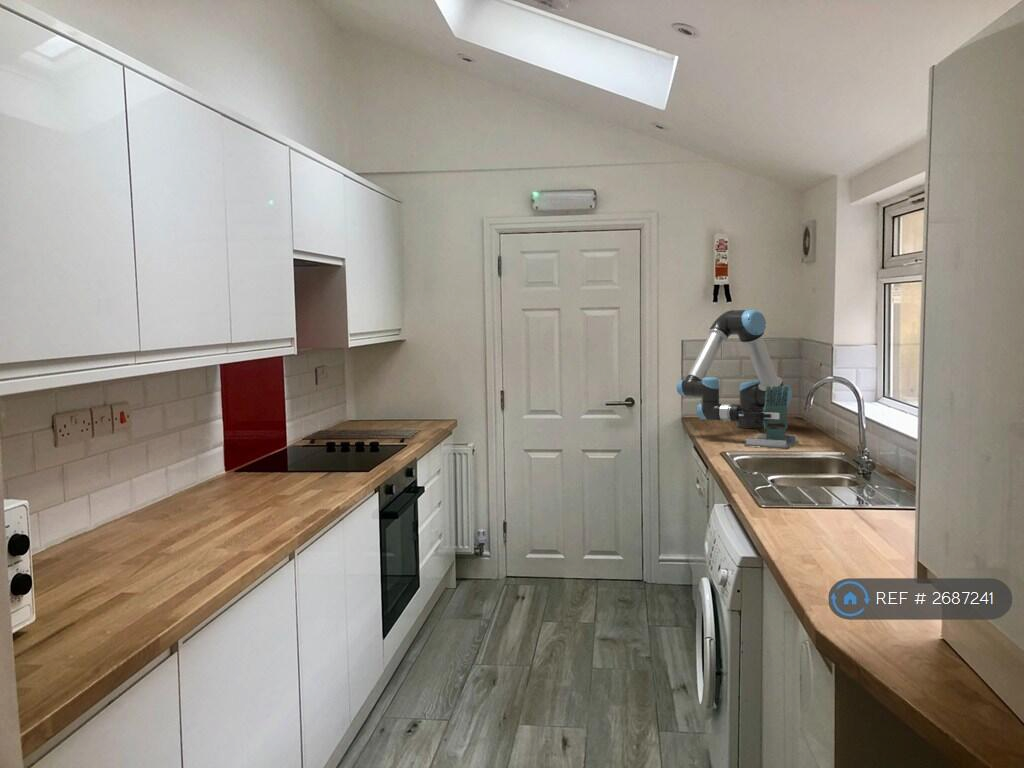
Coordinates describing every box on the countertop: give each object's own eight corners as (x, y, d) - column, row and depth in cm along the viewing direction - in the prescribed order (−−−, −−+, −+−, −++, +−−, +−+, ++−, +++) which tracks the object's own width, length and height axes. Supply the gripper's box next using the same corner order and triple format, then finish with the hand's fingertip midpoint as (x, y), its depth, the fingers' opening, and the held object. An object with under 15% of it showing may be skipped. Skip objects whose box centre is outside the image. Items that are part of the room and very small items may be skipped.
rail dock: (757, 440, 367) (757, 432, 367) (798, 442, 357) (798, 435, 357) (744, 446, 353) (744, 438, 352) (785, 449, 342) (785, 441, 342)
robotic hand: (752, 443, 355) (758, 392, 344) (753, 431, 364) (759, 382, 353) (786, 447, 351) (793, 395, 340) (785, 435, 360) (792, 385, 349)
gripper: (739, 417, 373) (789, 420, 360) (723, 423, 356) (774, 426, 343) (739, 401, 372) (789, 403, 359) (722, 406, 355) (774, 409, 342)
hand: (782, 414), depth 351 cm, fingers closed on robotic hand, 8 cm apart
